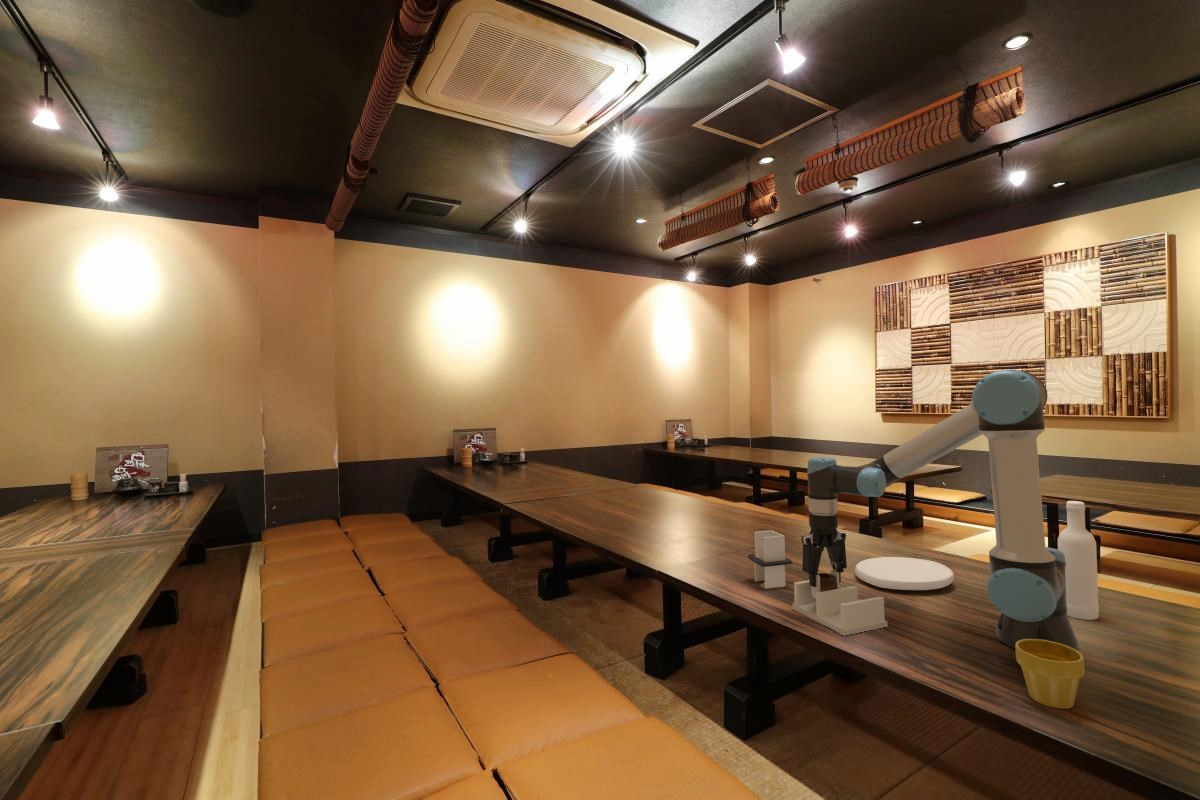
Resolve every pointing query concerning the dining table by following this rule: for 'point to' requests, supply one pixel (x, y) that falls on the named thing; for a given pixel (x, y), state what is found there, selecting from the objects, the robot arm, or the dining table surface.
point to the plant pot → (1050, 671)
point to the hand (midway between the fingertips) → (825, 596)
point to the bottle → (1079, 564)
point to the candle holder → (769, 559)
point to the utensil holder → (827, 581)
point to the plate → (904, 573)
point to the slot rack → (840, 609)
